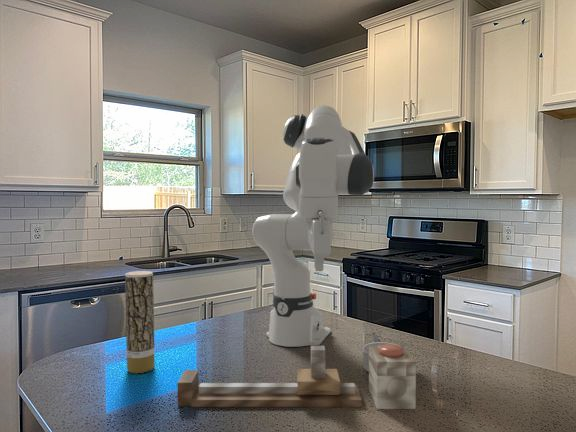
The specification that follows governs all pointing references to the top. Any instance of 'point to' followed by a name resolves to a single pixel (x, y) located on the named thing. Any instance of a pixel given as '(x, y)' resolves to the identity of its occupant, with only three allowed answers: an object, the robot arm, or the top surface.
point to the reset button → (391, 350)
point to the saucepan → (366, 350)
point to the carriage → (318, 376)
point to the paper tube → (139, 321)
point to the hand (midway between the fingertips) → (318, 270)
